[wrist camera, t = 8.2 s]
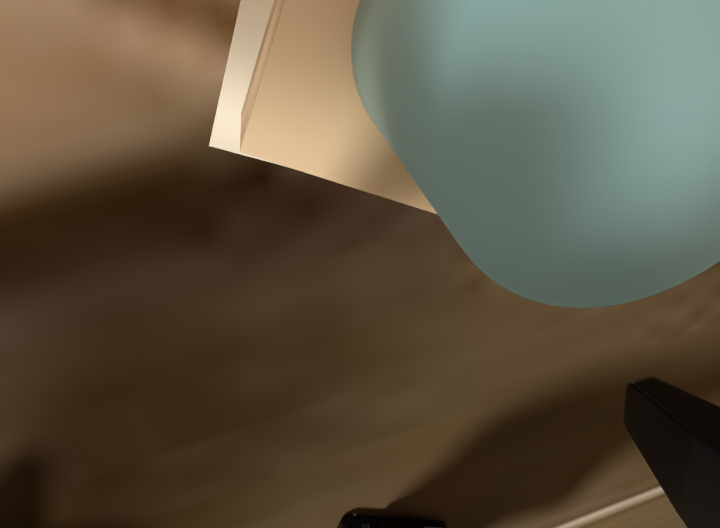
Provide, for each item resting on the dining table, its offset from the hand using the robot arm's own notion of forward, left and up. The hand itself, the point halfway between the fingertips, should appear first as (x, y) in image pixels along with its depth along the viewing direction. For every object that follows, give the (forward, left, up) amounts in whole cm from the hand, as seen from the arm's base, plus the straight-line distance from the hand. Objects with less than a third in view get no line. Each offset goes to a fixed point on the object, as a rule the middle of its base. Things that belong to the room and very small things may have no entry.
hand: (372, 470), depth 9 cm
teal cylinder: (+6, -1, -6) cm, 9 cm away
